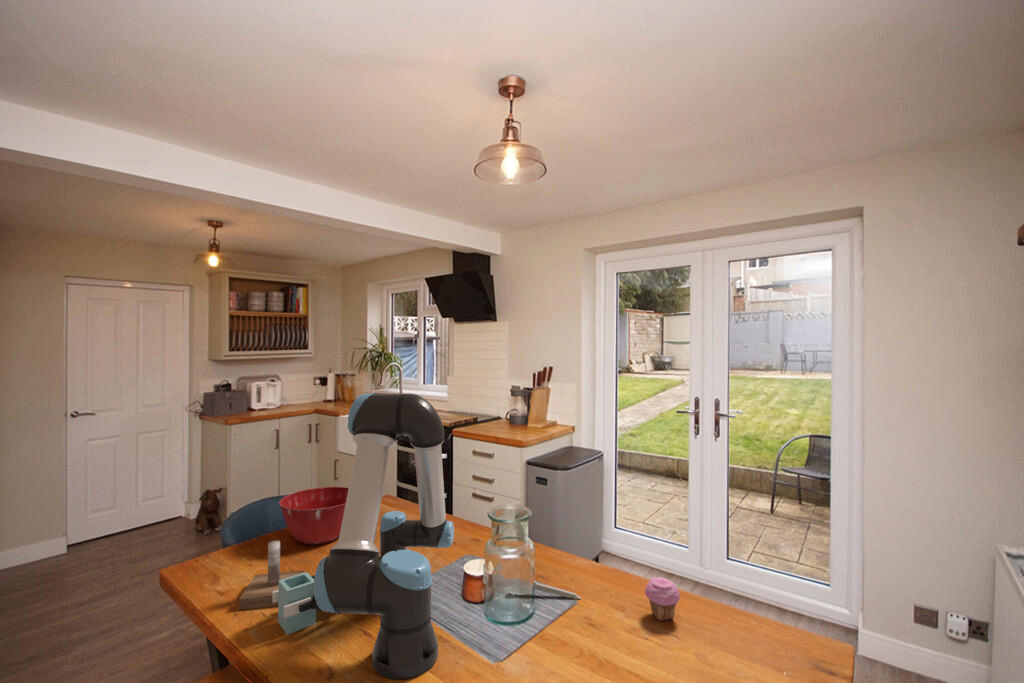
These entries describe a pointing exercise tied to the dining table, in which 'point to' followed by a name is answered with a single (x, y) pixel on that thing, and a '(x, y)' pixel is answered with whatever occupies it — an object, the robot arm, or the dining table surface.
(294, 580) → the collar
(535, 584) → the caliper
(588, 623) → the dining table surface
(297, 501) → the mixing bowl
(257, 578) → the wooden peg stand
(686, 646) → the dining table surface
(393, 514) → the robot arm
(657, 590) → the cupcake
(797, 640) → the dining table surface
